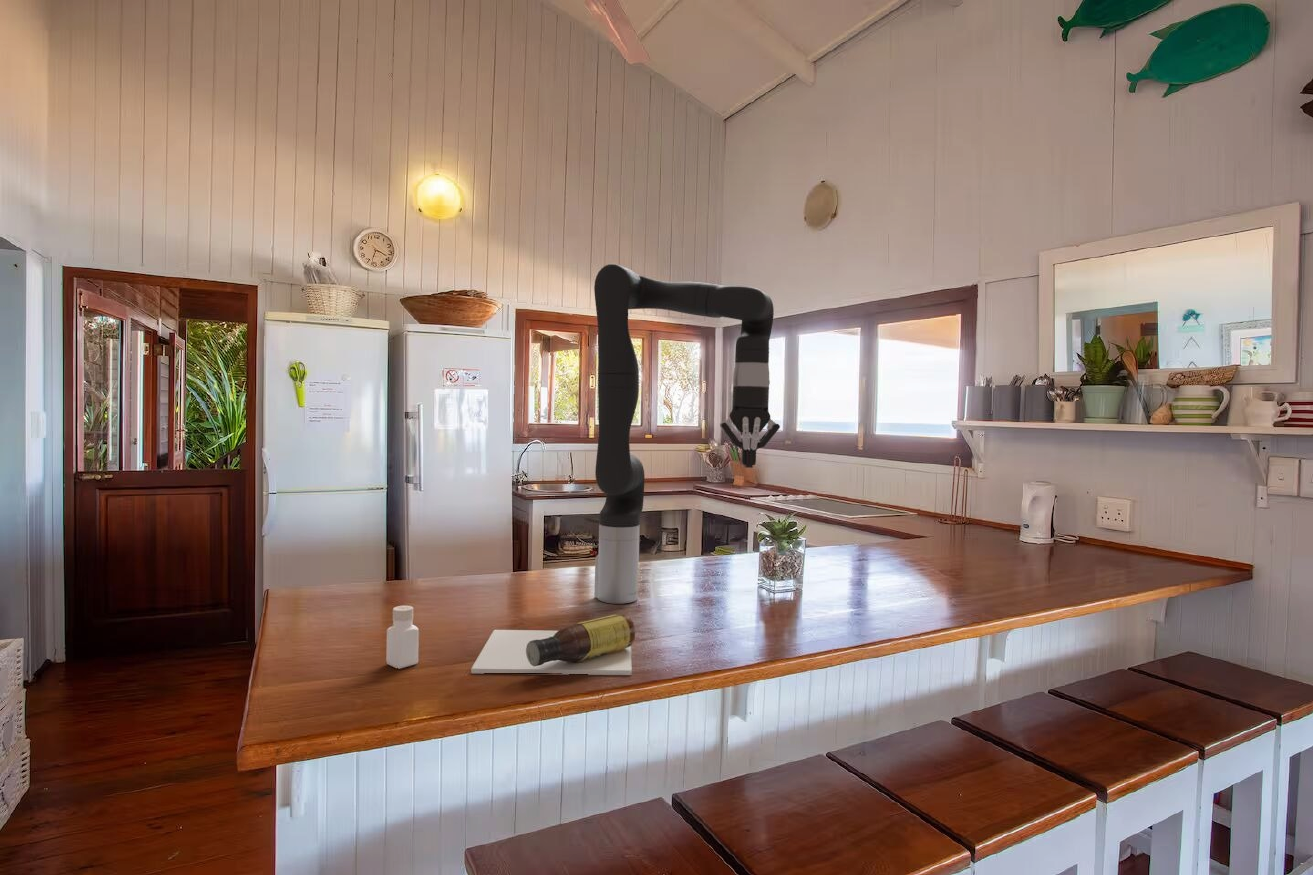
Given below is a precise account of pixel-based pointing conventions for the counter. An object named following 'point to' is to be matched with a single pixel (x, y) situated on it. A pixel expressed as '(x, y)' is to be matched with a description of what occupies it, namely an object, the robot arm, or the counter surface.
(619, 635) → the sauce bottle
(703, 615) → the counter surface
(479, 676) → the counter surface
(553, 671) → the cutting mat
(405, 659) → the white pill bottle
